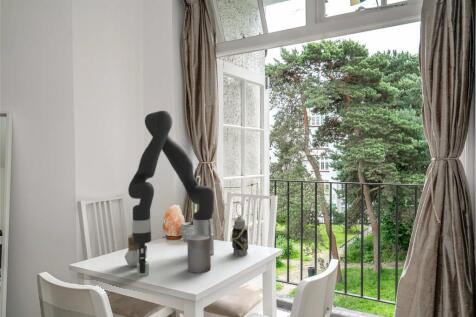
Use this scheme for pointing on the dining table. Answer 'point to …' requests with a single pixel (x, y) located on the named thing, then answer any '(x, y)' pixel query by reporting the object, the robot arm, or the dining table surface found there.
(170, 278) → the dining table surface
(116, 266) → the dining table surface
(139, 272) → the green block
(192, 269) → the grey upright cylinder
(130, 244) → the walnut block
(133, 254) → the die
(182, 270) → the dining table surface
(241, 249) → the lantern
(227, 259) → the dining table surface
